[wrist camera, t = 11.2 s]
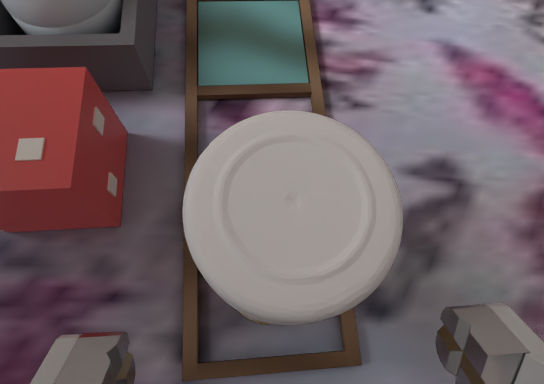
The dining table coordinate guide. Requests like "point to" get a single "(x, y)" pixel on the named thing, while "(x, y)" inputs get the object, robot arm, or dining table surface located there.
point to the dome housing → (90, 49)
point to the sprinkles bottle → (292, 217)
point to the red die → (58, 151)
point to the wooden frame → (241, 85)
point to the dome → (66, 16)
